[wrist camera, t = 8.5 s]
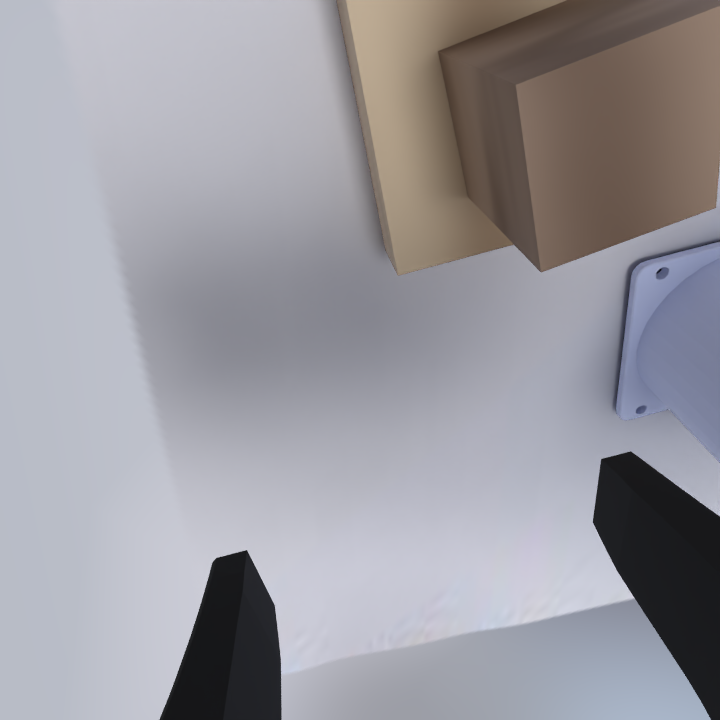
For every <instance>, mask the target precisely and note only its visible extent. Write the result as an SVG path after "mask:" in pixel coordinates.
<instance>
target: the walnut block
mask: <svg viewBox="0 0 720 720" xmlns="http://www.w3.org/2000/svg"><path fill="white" fill-rule="evenodd" d="M438 54H439V59H440V64H441V69H442V73H443V78H444V83H445V88H446V93H447V97H448V102H449V107H450V112H451V117H452V122H453V126H454V131H455V136H456V141H457V146H458V150H459V155H460V160H461V165H462V170H463V175H464V179H465V184H466V189H467V194H468V198H469V199H470V200H471V201H472V202H473V203H474V204H475V205H476V206H477V207H478V208H479V209H480V210H481V211H482V212H483V213H484V214H485V215H486V216H487V217H488V218H489V219H490V220H491V221H492V222H493V223H494V224H495V225H496V226H497V227H498V228H499V230H500V231H501V232H502V233H503V234H504V235H505V236H506V237H507V238H508V239H509V240H510V241H511V242H512V243H513V244H514V245H515V246H516V247H517V248H518V249H519V250H520V251H521V252H522V253H523V254H524V255H525V256H526V257H527V258H528V259H529V260H530V261H531V262H532V264H533V265H534V266H535V267H536V268H537V269H538V270H539V271H540V272H543V271H546V270H549V269H552V268H554V267H557V266H560V265H562V264H565V263H568V262H570V261H573V260H576V259H579V258H581V257H584V256H587V255H589V254H592V253H595V252H598V251H600V250H603V249H606V248H608V247H611V246H614V245H616V244H619V243H622V242H625V241H627V240H630V239H633V238H635V237H638V236H641V235H644V234H646V233H649V232H652V231H654V230H657V229H660V228H662V227H665V226H668V225H671V224H673V223H676V222H679V221H681V220H684V219H687V218H690V217H692V216H695V215H698V214H700V213H703V212H706V211H708V210H711V209H714V208H716V201H717V188H718V176H719V163H720V0H566V1H564V2H561V3H559V4H556V5H554V6H551V7H549V8H546V9H543V10H541V11H538V12H536V13H533V14H531V15H528V16H526V17H523V18H521V19H518V20H516V21H513V22H511V23H508V24H505V25H503V26H500V27H498V28H495V29H493V30H490V31H488V32H485V33H483V34H480V35H478V36H475V37H472V38H470V39H467V40H465V41H462V42H460V43H457V44H455V45H452V46H450V47H447V48H445V49H442V50H440V51H438Z"/></svg>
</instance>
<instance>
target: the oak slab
mask: <svg viewBox="0 0 720 720" xmlns="http://www.w3.org/2000/svg"><path fill="white" fill-rule="evenodd" d="M336 1H337V6H338V11H339V16H340V21H341V26H342V31H343V36H344V41H345V47H346V52H347V57H348V62H349V67H350V72H351V77H352V82H353V87H354V92H355V97H356V102H357V107H358V113H359V118H360V123H361V128H362V133H363V138H364V143H365V148H366V153H367V158H368V163H369V168H370V174H371V179H372V184H373V189H374V194H375V199H376V204H377V209H378V214H379V219H380V224H381V229H382V235H383V240H384V245H385V250H386V252H387V254H388V256H389V258H390V260H391V263H392V265H393V267H394V269H395V271H396V273H397V275H398V276H399V275H403V274H406V273H410V272H414V271H418V270H421V269H425V268H429V267H432V266H436V265H440V264H443V263H447V262H451V261H455V260H458V259H462V258H466V257H469V256H473V255H477V254H480V253H484V252H488V251H492V250H495V249H499V248H503V247H506V246H510V245H514V244H513V243H512V242H511V241H510V240H509V239H508V238H507V237H506V236H505V235H504V234H503V233H502V232H501V231H500V230H499V228H498V227H497V226H496V225H495V224H494V223H493V222H492V221H491V220H490V219H489V218H488V217H487V216H486V215H485V214H484V213H483V212H482V211H481V210H480V209H479V208H478V207H477V206H476V205H475V204H474V203H473V202H472V201H471V200H470V199H469V198H468V194H467V189H466V184H465V179H464V175H463V170H462V165H461V160H460V155H459V150H458V146H457V141H456V136H455V131H454V126H453V122H452V117H451V112H450V107H449V102H448V97H447V93H446V88H445V83H444V78H443V73H442V69H441V64H440V59H439V54H438V51H440V50H442V49H445V48H447V47H450V46H452V45H455V44H457V43H460V42H462V41H465V40H467V39H470V38H472V37H475V36H478V35H480V34H483V33H485V32H488V31H490V30H493V29H495V28H498V27H500V26H503V25H505V24H508V23H511V22H513V21H516V20H518V19H521V18H523V17H526V16H528V15H531V14H533V13H536V12H538V11H541V10H543V9H546V8H549V7H551V6H554V5H556V4H559V3H561V2H564V1H566V0H336Z"/></svg>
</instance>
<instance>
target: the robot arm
mask: <svg viewBox="0 0 720 720" xmlns="http://www.w3.org/2000/svg"><path fill="white" fill-rule="evenodd" d="M661 268H662V270H661V271H660V272H659V273H658V274H656V273H657V271H658V270H659V269H661ZM668 409H669V410H670V411H671V412H672V413H673V414H674V415H675V416H676V417H677V418H678V419H679V420H680V421H681V423H682V424H683V425H684V426H685V427H686V428H687V429H688V430H689V431H690V432H691V433H692V434H693V435H694V436H695V437H696V438H697V439H698V440H699V441H700V443H701V444H702V445H703V446H704V447H705V448H706V449H707V450H708V451H709V452H710V453H711V454H712V455H713V456H714V457H715V458H716V459H717V460H718V461H719V462H720V242H717V243H713V244H709V245H705V246H701V247H697V248H694V249H690V250H686V251H682V252H678V253H674V254H671V255H667V256H663V257H659V258H655V259H651V260H647V261H644V262H642V263H640V264H639V265H638V266H636V268H635V269H634V270H633V272H632V276H631V284H630V292H629V301H628V309H627V318H626V327H625V335H624V344H623V352H622V361H621V370H620V378H619V387H618V396H617V404H616V414H617V415H618V416H619V417H620V418H621V419H622V420H631V419H634V418H638V417H642V416H646V415H650V414H653V413H657V412H661V411H665V410H668ZM593 523H594V525H595V527H596V530H597V532H598V534H599V536H600V538H601V540H602V542H603V544H604V546H605V548H606V550H607V552H608V554H609V556H610V558H611V560H612V562H613V564H614V566H615V567H616V569H617V571H618V573H619V574H620V576H621V577H622V579H623V581H624V582H625V584H626V585H627V587H628V588H629V590H630V591H631V593H632V595H633V596H634V598H635V599H636V601H637V602H638V604H639V605H640V607H641V608H642V610H643V612H644V613H645V614H646V616H647V617H648V619H649V621H650V622H651V624H652V625H653V627H654V628H655V630H656V631H657V633H658V634H659V636H660V637H661V639H662V640H663V642H664V644H665V645H666V646H667V648H668V649H669V651H670V652H671V654H672V655H673V657H674V659H675V660H676V662H677V663H678V665H679V666H680V668H681V670H682V671H683V672H684V674H685V676H686V677H687V679H688V680H689V682H690V684H691V685H692V687H693V689H694V690H695V692H696V694H697V695H698V697H699V699H700V700H701V702H702V704H703V706H704V707H705V709H706V711H707V713H708V715H709V717H710V718H711V720H720V516H718V515H717V514H715V513H714V512H713V511H711V510H710V509H708V508H707V507H706V506H704V505H703V504H701V503H700V502H699V501H697V500H696V499H695V498H693V497H692V496H690V495H689V494H688V493H686V492H685V491H684V490H682V489H681V488H680V487H678V486H677V485H675V484H674V483H673V482H671V481H670V480H669V479H667V478H666V477H665V476H663V475H662V474H661V473H659V472H658V471H657V470H655V469H654V468H653V467H651V466H650V465H649V464H647V463H646V462H645V461H643V460H642V459H641V458H639V457H638V456H636V455H635V454H634V453H632V452H627V453H623V454H619V455H615V456H611V457H608V458H604V459H601V465H600V473H599V480H598V488H597V495H596V503H595V510H594V518H593ZM160 720H281V658H280V648H279V638H278V630H277V621H276V613H275V605H274V603H273V601H272V599H271V597H270V595H269V593H268V591H267V589H266V587H265V585H264V583H263V581H262V579H261V577H260V575H259V573H258V571H257V569H256V567H255V565H254V563H253V561H252V559H251V557H250V555H249V553H248V551H247V550H246V551H242V552H238V553H234V554H230V555H226V556H223V557H219V558H216V559H215V560H214V562H213V563H212V567H211V570H210V574H209V578H208V581H207V585H206V588H205V592H204V595H203V599H202V602H201V605H200V609H199V612H198V615H197V618H196V621H195V624H194V628H193V631H192V634H191V637H190V640H189V643H188V645H187V648H186V651H185V654H184V657H183V659H182V662H181V665H180V668H179V671H178V674H177V676H176V679H175V682H174V685H173V687H172V690H171V692H170V695H169V698H168V700H167V703H166V705H165V707H164V710H163V712H162V715H161V717H160Z"/></svg>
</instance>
